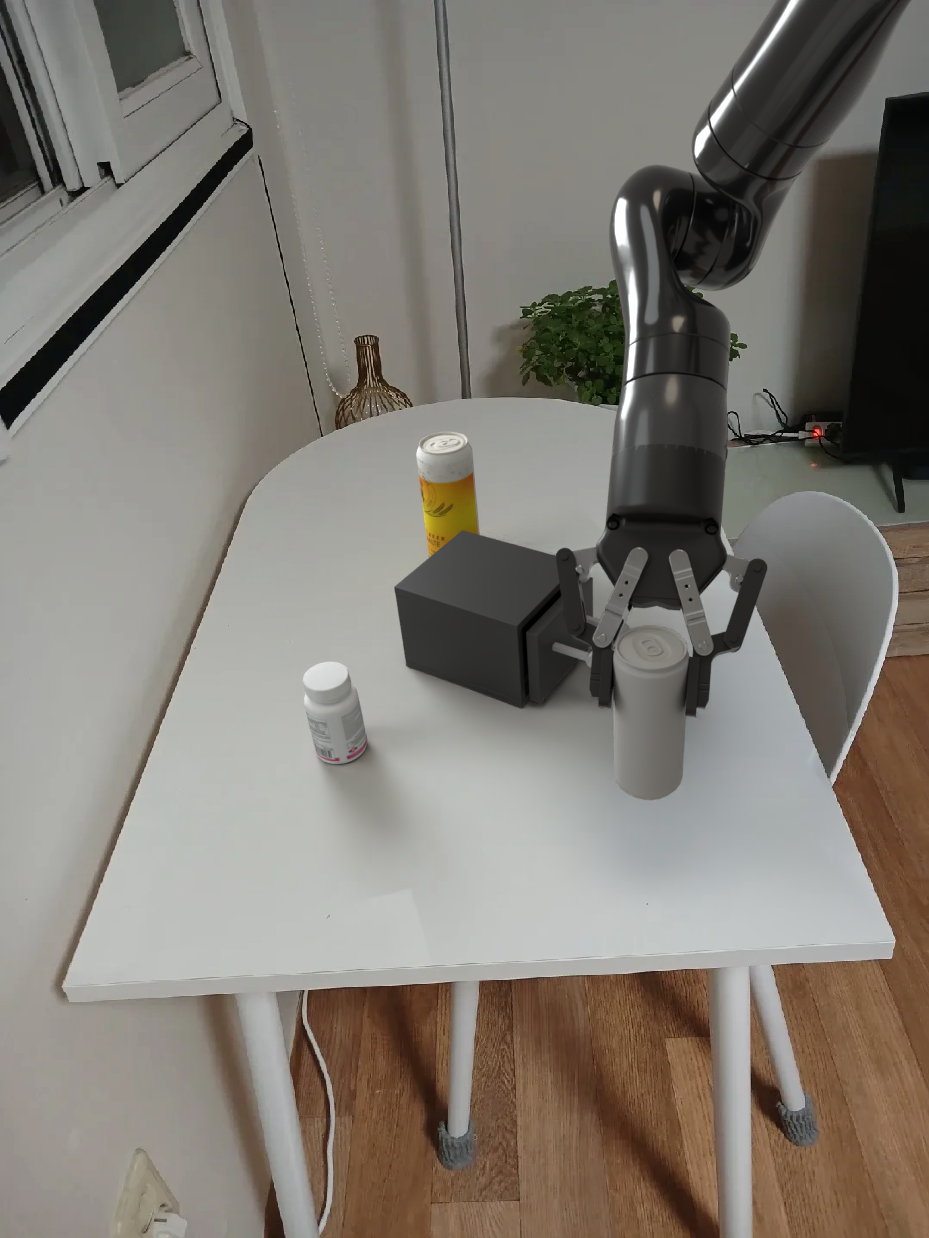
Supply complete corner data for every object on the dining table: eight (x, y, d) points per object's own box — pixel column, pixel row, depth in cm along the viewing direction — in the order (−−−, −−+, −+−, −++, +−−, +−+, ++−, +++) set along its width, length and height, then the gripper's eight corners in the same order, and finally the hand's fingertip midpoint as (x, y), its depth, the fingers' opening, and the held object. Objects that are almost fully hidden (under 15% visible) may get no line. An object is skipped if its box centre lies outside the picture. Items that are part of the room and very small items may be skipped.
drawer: (638, 657, 92) (640, 590, 88) (588, 720, 85) (587, 652, 81) (487, 609, 101) (482, 546, 96) (430, 663, 94) (422, 599, 89)
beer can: (423, 553, 113) (408, 436, 104) (472, 541, 114) (461, 425, 105) (437, 579, 108) (423, 459, 99) (488, 567, 109) (478, 447, 100)
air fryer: (581, 641, 96) (580, 561, 91) (522, 708, 89) (516, 626, 83) (469, 606, 103) (462, 529, 97) (405, 665, 96) (393, 586, 90)
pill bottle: (363, 724, 89) (349, 653, 84) (372, 758, 85) (358, 686, 80) (312, 736, 88) (295, 665, 83) (319, 771, 84) (301, 698, 79)
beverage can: (629, 812, 65) (631, 677, 58) (602, 765, 69) (601, 633, 62) (693, 794, 66) (703, 659, 59) (664, 748, 70) (670, 617, 63)
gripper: (554, 436, 62) (528, 697, 60) (785, 442, 58) (767, 719, 56) (568, 472, 69) (546, 705, 67) (775, 478, 66) (759, 725, 63)
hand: (647, 710), depth 61 cm, fingers closed on beverage can, 5 cm apart
